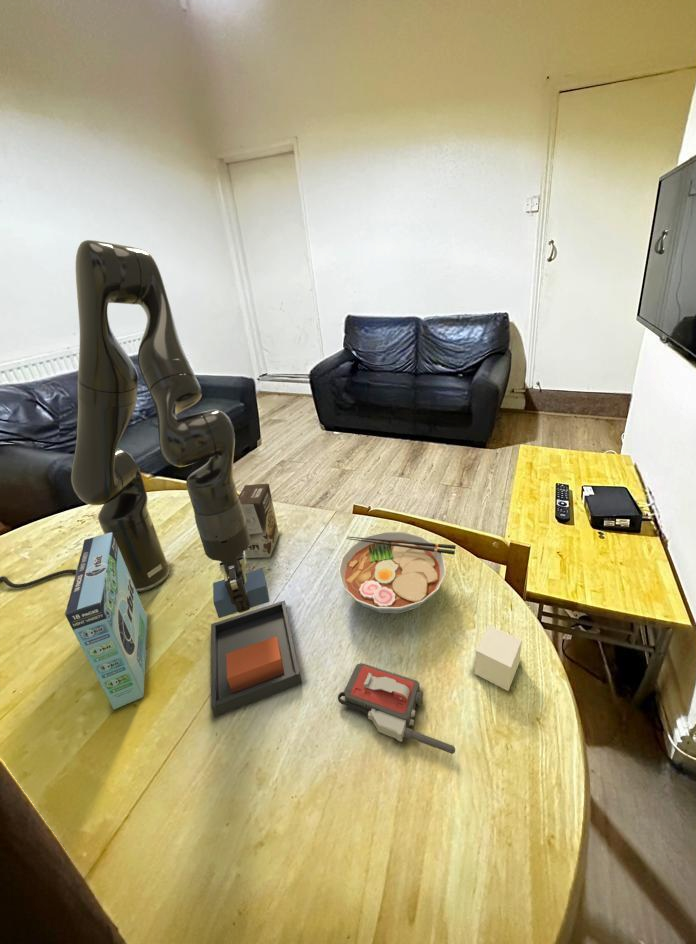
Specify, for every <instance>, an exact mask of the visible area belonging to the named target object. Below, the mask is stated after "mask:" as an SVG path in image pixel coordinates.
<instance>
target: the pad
mask: <svg viewBox="0 0 696 944" xmlns="http://www.w3.org/2000/svg"><path fill="white" fill-rule="evenodd" d="M226 663H227V680H228V683H229V686H230V689H231V692H232V693H235V692H238V691H240V690H243V689H245V688H248V687H251V686H253V685H256V684H259V683H261V682H264V681H267V680H269V679H272V678H274V677H277V676H280V675H282V674H284V668H283V662H282V657H281V651H280V647H279V643H278V638H277V636H276V637H273V638H270V639H267V640H264V641H261V642H259V643H256V644H253V645H250V646H247V647H244V648H241V649H239V650H236V651H233V652H230V653H227V654H226Z"/></svg>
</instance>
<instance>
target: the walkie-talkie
mask: <svg viewBox="0 0 696 944" xmlns="http://www.w3.org/2000/svg"><path fill="white" fill-rule="evenodd" d="M420 685H421V684H420V682H419V681H418V680H416V679H412V678H410V677H407V676H403V675H400V674H398V673H395V672H391V671H389V670H388V671H387V670H385V669H381V668H378V667H375V666H372V665H370V664H366V663H363V662H360V663H357V664H356V665H355V666H354V669H353V671H352V673H351V676H350V678H349V679H348V682H347V684H346V686H345V688H344V691H341V692H340V693H339V694H338V695H337V701H338V703H340V704H341V705H344V706H347V707H348V708H350V709H353V710H356V711H359V712H362V713H363V714H365V716H367V720H370V721H372V723H373V725H374V727H375V728H376V730H377V732H378V733H381V734H383V735H386V736H388V737H391V738H393V739H396V741H398V742H401V743H402V742H403V740H404V738H405V739H408V740H414V741H416V742H419V743H422V744H424V745H427V746H429V747H432V748H435V749H438V750H441V751H443V752H446V753H449V754H451V755H453V754H455V753H456V747H455V746H454V745H452V744H450V743H447V742H445V741H442V740H439V739H436V738H434V737H432V736H429V735H426V734H423V733H421V732H418V731H415V730H414V729H413V728H410V727H411V726H412V727H413V726H414V724H415V719H413V718H414V717H415V716H416V706H421V704H422V702H423V696H424V691H422V690H421V689H420V688H421V686H420ZM342 697H344V699H345V700H344V699H342Z"/></svg>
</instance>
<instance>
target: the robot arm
mask: <svg viewBox="0 0 696 944" xmlns="http://www.w3.org/2000/svg"><path fill="white" fill-rule="evenodd" d="M75 283H76V284H75V285H76V299H77V310H78V324H79V325H78V327H79V348H78V349H79V350H78V371H77V425H76V441H75V443H76V444H75V450H74V455H73V461H72V468H71V474H70V475H71V476H70V481H71V486H72V489H73V492H74V493H75V494H76V496H77V497H78V499H80V500H81V501H82V502H84V503H85V504H87V505H90V506H101V509H100V511H99V513H98V516H97V520H98V523H99V525H100V528H101V530H102V532H103V534H107V533H111V532H112V533H113V535H114V538H115V540H116V542H117V545H118V547H119V550H120V552H121V555H122V557H123V560H124V562H125V565H126V567H127V569H128V572H129V574H130V577H131V579H132V582H133V584H134V587H135V589H136V591H137V593H143V592H147V591H150V590H153V589H154V588H156V587H157V586H159V585H161V584H162V583H163V582H164V581H166V579H167V578H168V576H170V572H171V569H170V566H169V564H168V561H167V559H166V556H165V553H164V550H163V548H162V545H161V542H160V539H159V537H158V534H157V531H156V528H155V525H154V523H153V520H152V517H151V515H150V512H149V508H148V500H149V499H148V493H147V489H146V486H145V483H144V479H143V476H142V472H141V469H140V467H139V464H138V463H137V461H136V460H135V458H134V457H133V456H132V455H131V454H130V453H129V452H127V451H126V450H124V449H121V448H119V443H120V441H121V439H122V437H123V435H124V433H125V432H126V430H127V427H128V425H129V424H130V421H131V419H132V416H133V415H134V412H135V409H136V405H137V399H138V389H139V388H138V387H139V373H138V370H137V368H136V365H135V363H134V362H133V361H132V359H131V357H129V355H128V354H127V352H126V350H124V348H123V346H122V345H121V344H120V342H119V340H118V339H117V338H116V336H115V334H114V332H113V331H112V328H111V325H110V321H109V313H108V306H109V304H122V305H139V306H140V307H141V308H142V310H143V311H144V314H145V315H146V324H145V329H144V332H143V334H142V337H141V340H140V343H139V347H138V351H137V363H138V368H139V372H140V374H141V376H142V379H143V380H144V383H145V385H146V388H147V390H148V392H149V394H150V396H151V399H152V401H153V404H154V408H155V412H156V418H157V428H158V430H157V431H158V443H159V449H160V452H161V455H162V457H163V458H164V459H165V460H166V462H167V463H169V464H170V465H172V466H174V467H178V468H183V467H187V466H190V465H193V464H196V463H199V462H201V461H204V460H208V461H207V462H206V463H205V464H203V465H202V466H200V467H199V468H198V469H196V470H194V471H193V472H191V473H190V474H189V475H188V477H187V479H186V481H185V483H186V484H185V485H186V490H187V493H188V496H189V499H190V503H191V506H192V509H193V514H194V521H195V525H196V528H197V531H198V534H199V537H200V541H201V544H202V547H203V550H204V554H205V555H206V557H207V558H208V559H210V560H212V561H218V562H219V568H220V572H221V574H222V576H223V578H224V579H225V587H226V588H227V591H228V594H229V597H230V599H231V603H232V604H235V605H236V608H237V613H239V614H242V613H245V612H247V611H250V610H251V608H250V603H249V600H248V596H247V593H248V592H247V590H246V586H245V583H246V582H247V577H246V573H247V572H246V568H245V566H246V562H245V554H244V553H245V550H246V549H247V547H248V546H249V544H250V535H249V532H248V528H247V523H246V520H245V515H244V511H243V508H242V505H241V503H240V501H239V498H238V496H239V494H238V490H237V486H236V483H235V478H234V456H235V445H236V433H235V427H234V424H233V422H232V420H231V418H230V417H229V416H228V414H226V413H225V412H223V411H221V410H219V409H209V410H205V411H201V412H199V413H195V414H190V415H187V416H184V417H180V418H178V417H177V416H178V415H179V414H180V413H182V412H184V411H186V410H187V409H189V408H191V407H193V406H194V405H196V404H197V403H198V402H199V401H200V400H201V399H202V395H203V390H202V387H201V384H200V382H199V380H198V379H197V376H196V374H195V372H194V370H193V368H192V365H191V364H190V361H189V359H188V358H187V356H186V353H185V350H184V348H183V346H182V343H181V340H180V337H179V334H178V330H177V327H176V323H175V319H174V317H173V311H172V308H171V305H170V301H169V298H168V294H167V291H166V288H165V287H166V286H165V284H164V280H163V277H162V274H161V271H160V269H159V266H158V264H157V263H156V261H155V259H154V258H153V256H152V255H151V254H150V252H148V251H146V250H144V249H141V248H138V247H133V246H130V245H129V246H127V245H123V244H116V243H111V242H105V241H99V240H92V239H86V240H83V241H81V242H80V244H79V245H78V247H77V250H76V255H75ZM76 571H77V569H73V568H72V569H70V568H69V569H63V570H60V571H56V572H53V573H50V574H48V575H45V576H42V577H40V578H38V579H35V580H31V581H29V582H24V583H14V582H12V581H10V580H9V579H8V578H7V577H6V576H3V575H2V576H0V582H3V583H4V584H5V585H6V586H8V587H9V588H13V589H22V588H27V587H30V586H34V585H37V584H39V583H41V582H45V581H47V580H49V579H51V578H54V577H57V576H61V575H66V574H76ZM240 575H242V577H239V576H240ZM237 577H238V578H237ZM228 578H230V580H229V579H228ZM224 579H223V580H224Z"/></svg>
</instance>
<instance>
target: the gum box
mask: <svg viewBox="0 0 696 944" xmlns="http://www.w3.org/2000/svg"><path fill="white" fill-rule="evenodd" d="M76 570H77V571H76V573H75V576H74V579H73V583H72V586H71V591H70V595H69V599H68V601H67V605H66V608H65V612H64V615H65V618H66V619H67V621H68V623H69V625H70V628H71V629H72V632H73V633H74V635H75V638H76V640H77V641H78V643H79V644H80V646H81V649H82V651H83V652H84V654H85V657H86V658H87V660H88V662H89V664H90V667H91V669H92V670H93V672H94V674H95V676H96V678H97V680H98V683H99V684H100V686H101V688H102V689H103V692H104V694H105V696H106V698H107V700H108V701H109V704H110V706H111V707H112V709H113V710H114V711H115V710H117V709H119V708H121V707H124V706H126V705H128V704H131V703H133V702H136V701H138V700H140V699H143V698H144V696H145V676H146V654H147V635H148V634H147V633H148V615H147V614H146V611H145V609H144V606H143V604H142V601H141V599H140V597H139V593H138V592H137V591H136V589H135V587H134V584H133V582H132V579H131V577H130V574H129V572H128V569H127V567H126V565H125V562H124V560H123V557H122V555H121V552H120V550H119V547H118V545H117V542H116V540H115V538H114V535H113V533H112V532H111V533H107V534H104V533H103V534H100V535H96V536H92V537H89V538H86V539H84V540H83V544H82V549H81V553H80V556H79V560H78V565H77V567H76Z"/></svg>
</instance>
